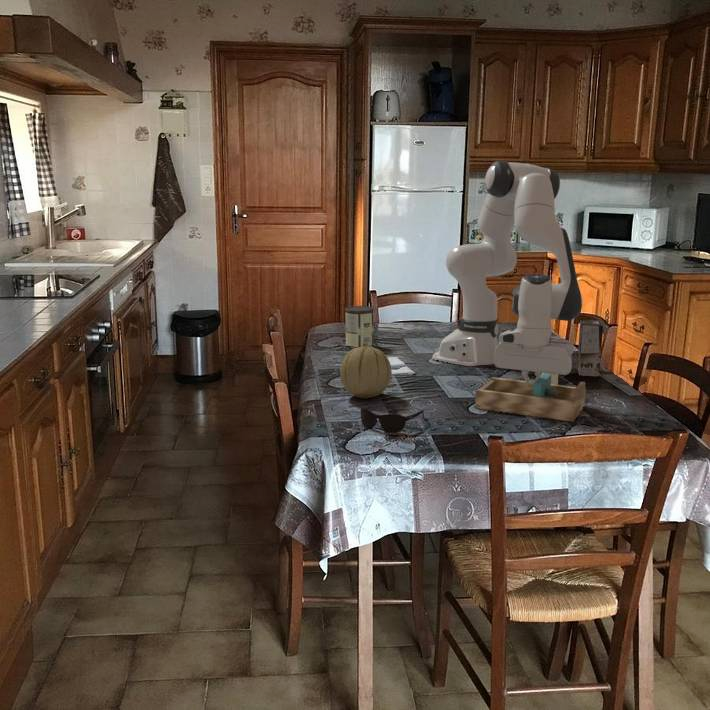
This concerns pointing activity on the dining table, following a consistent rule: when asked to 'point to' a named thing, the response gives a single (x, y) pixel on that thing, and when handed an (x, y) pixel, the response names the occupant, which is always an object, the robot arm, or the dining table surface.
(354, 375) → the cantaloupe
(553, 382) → the jar
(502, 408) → the wooden tray
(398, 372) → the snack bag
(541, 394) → the block
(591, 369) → the coffee box
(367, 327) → the coffee can
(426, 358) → the dining table surface
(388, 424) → the sunglasses
